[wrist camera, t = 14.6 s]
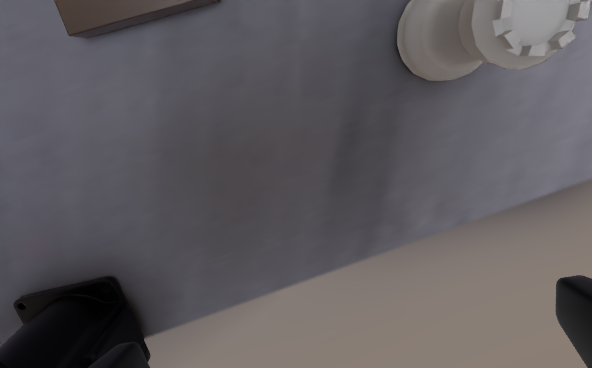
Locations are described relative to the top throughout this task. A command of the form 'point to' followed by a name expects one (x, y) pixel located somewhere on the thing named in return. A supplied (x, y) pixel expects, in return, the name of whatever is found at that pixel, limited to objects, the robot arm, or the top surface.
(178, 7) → the handle block
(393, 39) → the top surface
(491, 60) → the rook chess piece
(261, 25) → the top surface
